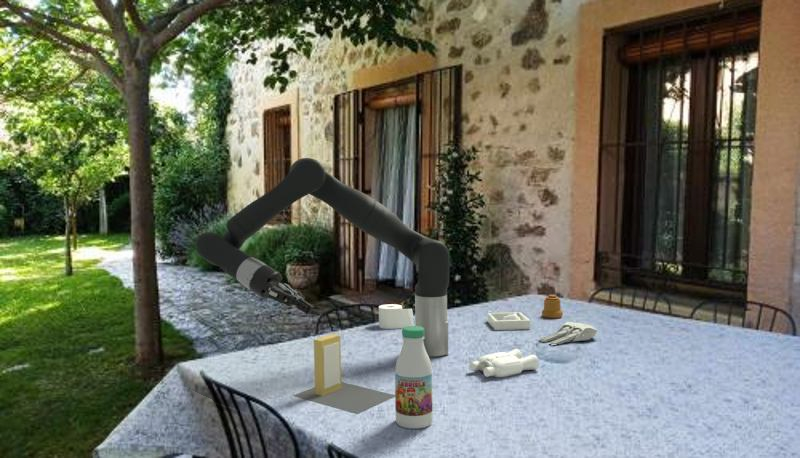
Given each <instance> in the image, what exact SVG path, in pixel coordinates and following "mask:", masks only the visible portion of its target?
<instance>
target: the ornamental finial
mask: <svg viewBox="0 0 800 458" xmlns="http://www.w3.org/2000/svg"><path fill="white" fill-rule="evenodd" d="M561 307H562V306H561V299H560V298H559V296H557V294H548V295H547V296H546V297H545V298H544V299H543V309H542V311H541V315H542V317H544V318H545V319H560V318H562V317H563V315H564V312H563V310H562V309H561Z"/></svg>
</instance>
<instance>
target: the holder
mask: <svg viewBox="0 0 800 458" xmlns="http://www.w3.org/2000/svg"><path fill="white" fill-rule="evenodd" d="M511 313H512V312H487V316H486V317H487V321H486V322H487V323H488V324H489V325H490V326H491V327H492V329H493V330H494V331H510V330H511V331H514V330H521V331H522V330H531V320H530V319H529V318H528V317H527V316H526V315H525V314H524V313H522V312H521V311H520V312H514V313H516V314H517V316H518V317H520V319H521V320H519V319H518V320H503V319H504V318H503V317H504V316H507V315H509V314H511Z"/></svg>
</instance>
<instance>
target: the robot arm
mask: <svg viewBox="0 0 800 458" xmlns="http://www.w3.org/2000/svg"><path fill="white" fill-rule="evenodd" d="M308 195H310V196H312V197H314V198H316V199H318V200H320V201H322V202H324V203H325V204H327V205H328V206H330V208H332V209H333V210H334V211H335V212H336V213H338V215H340V216H341V217H342V218H344V219H345V220H346V221H348V222H349V223H350V224H352V225H353V226H355V227H356V228H358V229H359V230H361V231H362V232H363V233H365V234H367V235H368V236H370V237H372V238H374V239H376V240H378V241H380V242H382V243H384V244H386V245H388V246H390V247H392V248H394V249H395V250H397V251H398V252H400V253H401V254H402V255H403V256H404V257H406V258H407V259H408V260H410V261H411V262H412V263H413V264H414V265H416V266H417V268H418V280H417V283H416V284H415V287H414V301H415V302H414V305H415V307H414V309H415V310H414V312H415V313H414V314H415V316H414V318H415V320H414V321H415V325H414V326H420V327H423V328H424V339H423V343H424V347H425V350H426V352H427V354H428V356H429V358H430V357H432V358H433V357H434V358H435V357H441V356H446V355H447V356H448V355H449V321H448V287H449V284H450V268H451V267H450V266H451V265H450V263H451V261H450V251H449V249H448V247H447V245H446V244H445V243H443V242H442V241H439V240H437V239H432V238H430V237H427V236H425V235H422V233H419V232H417V231H415V230H413V229H412V228H410V227H409V226H408V225H407V224H405V223H404V222H403V221H402V220H401V219H400V218H399V216H397V215H396V214H395V213H393V211H392V210H390V209H389V208H388V207H386V206H385V205H383V204H382V203H380V202H379V201H378V200H376V199H374V198H373V197H371V196H369V195H367V194H366V193H364V192H361V191H360V190H358V189H356V188H354V187H352V186H349V185H347V184H345V183H343V182H342V181H340V180H338V179H337V178H336V177H335V176H333V175H332V174H331V173H329V172H328V171H327V170H326V169H325V167H324V166H323V164H322V163H321V162H320V161H318V160H316V159H314V158H311V157H303V158H299V159H297V160H296V161H294V162H293V163H292V165H290V168H289V173H287V175H285V177H284V178H283V179H282V180H281V181H279V183H278V184H277V185H275V186H274V187H273V188H272V189H270V190H268V192H266V193H264V194H262V195H261V196H260V197H258V198H257V199H255V200H253V201H252V202H250V203H249V204H247V205H246V206H245V207H243V208H242V209H241V210H239V211H238V212H236V213H235V214H234V215H233V216H232V217H231V218H229V219H228V221H226V223H225V227H226V232H225V233H224V234H223V236H221V235H220V234H218V233H216V232H213V231H206V232H205V231H204V232H203V233H201V234H199V235H198V236H197V237H196V239H195V243H194V248H195V250H196V253H197V254H198V255H199V256H200V257H201V258H203V259H204V260H206V262H208V263H209V264H211V265H213V266H217V267H219V268H220V269H222V271H224V272H225V273H226V274H227V275H228V276H230V277H232V278H234V280H236V281H238V283H240V284H241V285H242V286H244V287H245V288H247V289H248V290H250V291H251V292H253V293H254V294H255V295H258V296H259V297H260V298H262V299H265V300H266V299H272V300H274V301H276V302H279V303H280V304H282V305H285V306H287V307H292V308H297V309H298V310H299V311H301V312H303V313H304V314H306V315H311V314H312V313H313V311H314V309H315V306H314V305H313V304H311V303H309V302H308V301H307V300H306V296H305V295H304V294H303V293H302V292H301V290H299V289H293V288H292V287H291V286H290V285H289V284H288V283H283V275H282V274H281V273H280V272H279V271H277V270H276V269H274V268H272V267H271V266H270V265H268V264H266V263H265V262H263V261H261V260H260V259H257V258H255V257H254V256H251V255H250V254H248V253H247V252H245V251H243V250H241V247H242V246H243V245H244V243H245V242H246V241H247V240H248V239H249V238H251V237H253V236H254V235H255V234H256V233H257V232H258V231H260V230H261V229H262V228H264V226H266V225H267V224H268V223H269V222H271V220H274V218H276V217H277V216H278V215H279V214H280V213H282V212H283V211H284V210H286V209H287V208H288V207H290V206H291V205H292V204H294V203H295V202H297V201H299V200H300V199H302V198H304V197H307V196H308Z"/></svg>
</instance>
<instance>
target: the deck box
mask: <svg viewBox="0 0 800 458" xmlns="http://www.w3.org/2000/svg"><path fill="white" fill-rule="evenodd" d="M341 349H342V347H341V335H339V334H335V333H331V334H328V335H325V336H324V335H323V336H321V337H318V338H315V339H313V359H314V361H313V363H314V366H313V367H314V368H313V369H314V387H315V394H317V395H321V396H324V395H326V394H328V393H331V392H333V391H336V390H338V389H341V382H342V356H341V351H342V350H341Z"/></svg>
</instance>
